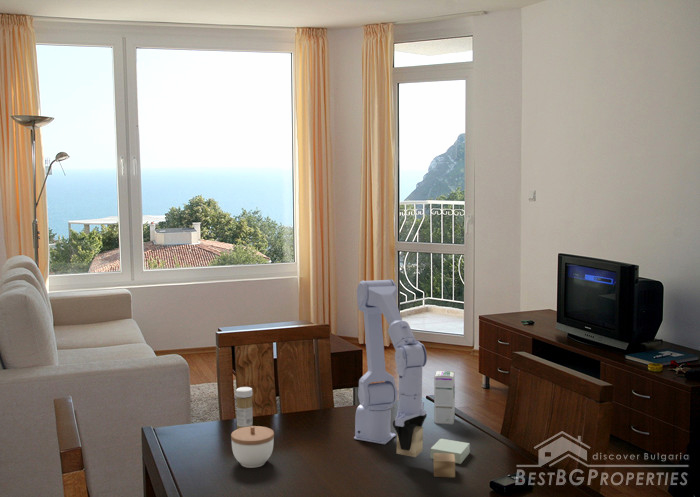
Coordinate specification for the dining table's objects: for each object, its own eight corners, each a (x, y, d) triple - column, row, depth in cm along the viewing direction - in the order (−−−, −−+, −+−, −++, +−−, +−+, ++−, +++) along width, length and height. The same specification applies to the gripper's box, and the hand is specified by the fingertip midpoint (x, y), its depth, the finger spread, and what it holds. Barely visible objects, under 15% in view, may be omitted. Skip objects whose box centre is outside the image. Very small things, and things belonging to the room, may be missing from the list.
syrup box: (453, 424, 202) (454, 376, 201) (433, 423, 203) (434, 375, 202) (454, 418, 208) (455, 371, 206) (435, 417, 209) (435, 370, 208)
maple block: (396, 453, 171) (396, 430, 170) (404, 446, 175) (404, 423, 175) (415, 457, 168) (415, 433, 168) (422, 450, 173) (423, 427, 172)
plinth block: (430, 459, 177) (430, 448, 177) (440, 449, 184) (440, 438, 184) (460, 465, 173) (460, 453, 173) (469, 454, 181) (469, 443, 180)
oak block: (433, 477, 166) (434, 460, 165) (433, 468, 171) (433, 452, 170) (454, 477, 165) (455, 461, 165) (453, 469, 170) (454, 453, 170)
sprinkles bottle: (248, 431, 196) (247, 385, 195) (255, 436, 192) (255, 389, 191) (233, 434, 193) (233, 388, 192) (240, 439, 190) (240, 392, 188)
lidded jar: (239, 474, 166) (238, 437, 166) (225, 459, 176) (225, 423, 175) (280, 466, 171) (280, 430, 170) (265, 452, 181) (265, 417, 180)
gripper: (414, 403, 162) (414, 458, 163) (435, 386, 175) (434, 438, 176) (387, 398, 165) (386, 453, 166) (409, 383, 178) (408, 434, 179)
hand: (409, 445), depth 172 cm, fingers closed on maple block, 5 cm apart
